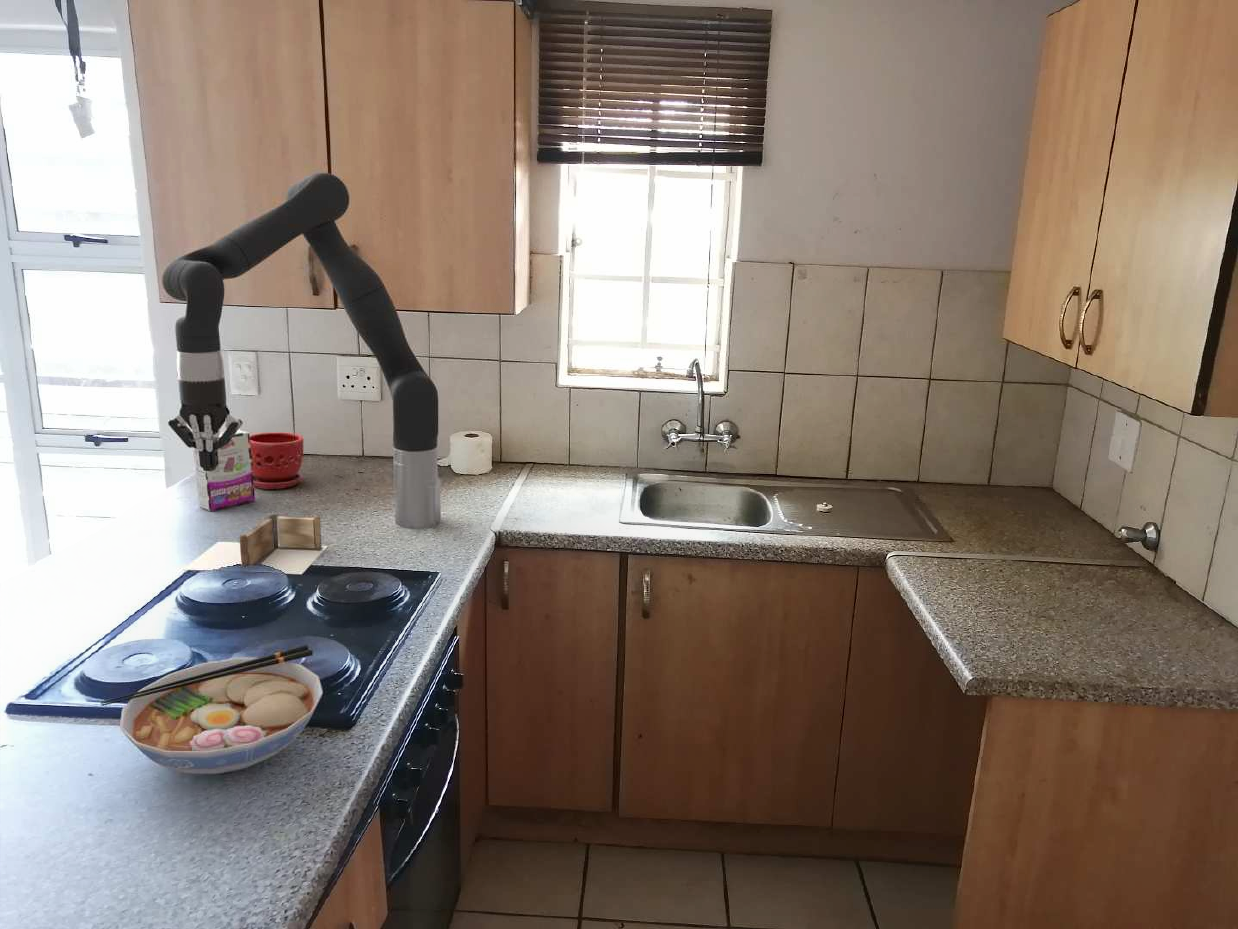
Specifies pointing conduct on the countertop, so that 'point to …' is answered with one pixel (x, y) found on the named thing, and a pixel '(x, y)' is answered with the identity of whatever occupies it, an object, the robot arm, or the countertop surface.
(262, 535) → the fence hinged panel
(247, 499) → the candy bar box
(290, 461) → the plant pot
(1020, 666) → the countertop surface
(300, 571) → the card
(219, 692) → the ramen bowl
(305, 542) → the fence fixed
